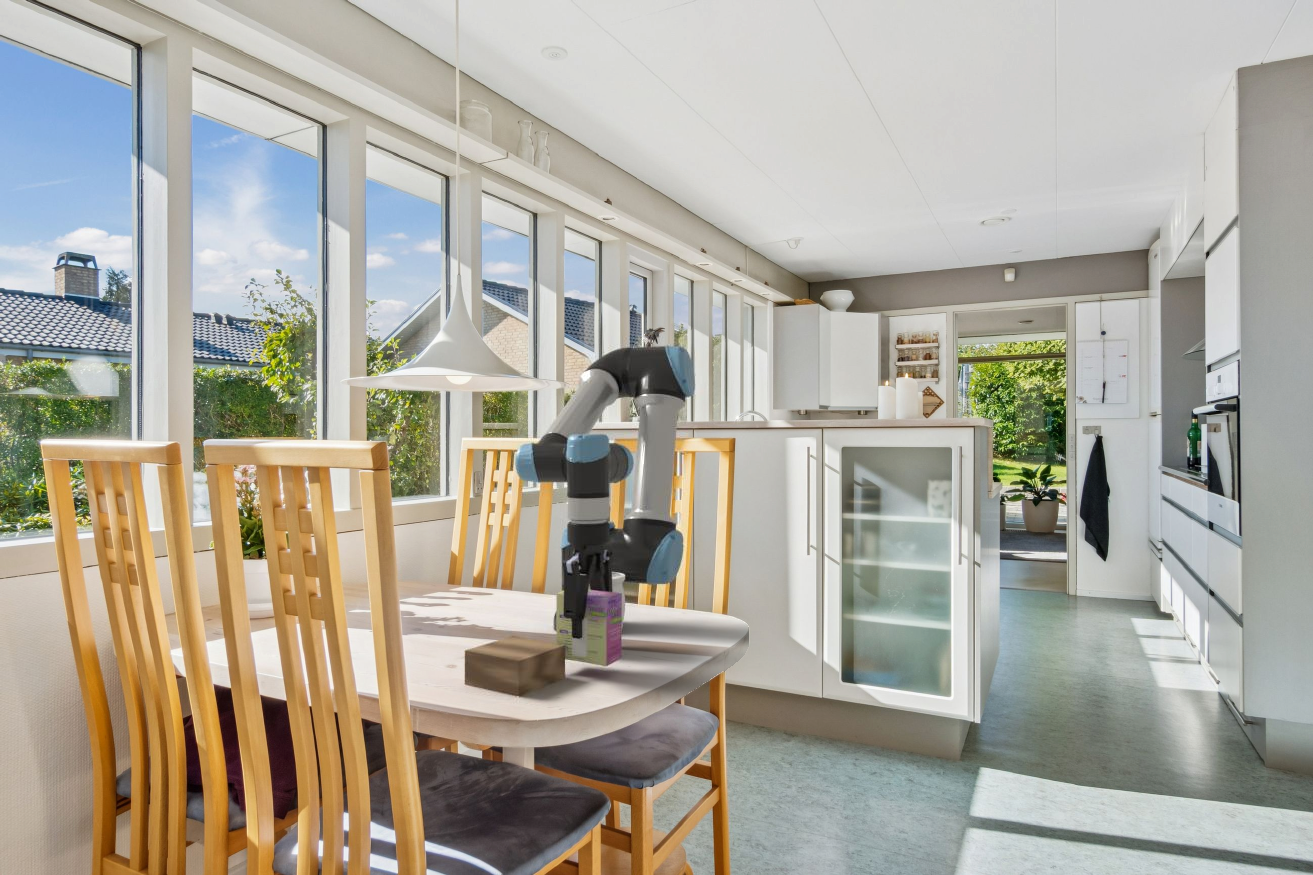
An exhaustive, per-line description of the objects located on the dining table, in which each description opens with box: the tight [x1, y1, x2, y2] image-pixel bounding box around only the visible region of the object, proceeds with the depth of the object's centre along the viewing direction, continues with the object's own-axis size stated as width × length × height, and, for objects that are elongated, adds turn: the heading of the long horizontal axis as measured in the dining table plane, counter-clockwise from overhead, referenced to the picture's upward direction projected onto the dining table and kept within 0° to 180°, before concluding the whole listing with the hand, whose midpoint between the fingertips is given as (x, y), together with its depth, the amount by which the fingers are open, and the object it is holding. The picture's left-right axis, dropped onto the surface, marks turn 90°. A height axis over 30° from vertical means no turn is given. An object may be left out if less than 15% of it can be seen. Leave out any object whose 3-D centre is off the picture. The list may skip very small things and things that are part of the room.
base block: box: [464, 635, 566, 697], centre depth 133 cm, size 12×12×6 cm
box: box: [555, 590, 623, 667], centre depth 138 cm, size 10×6×12 cm, turn 64°
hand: (589, 650), depth 138 cm, fingers closed on box, 6 cm apart
